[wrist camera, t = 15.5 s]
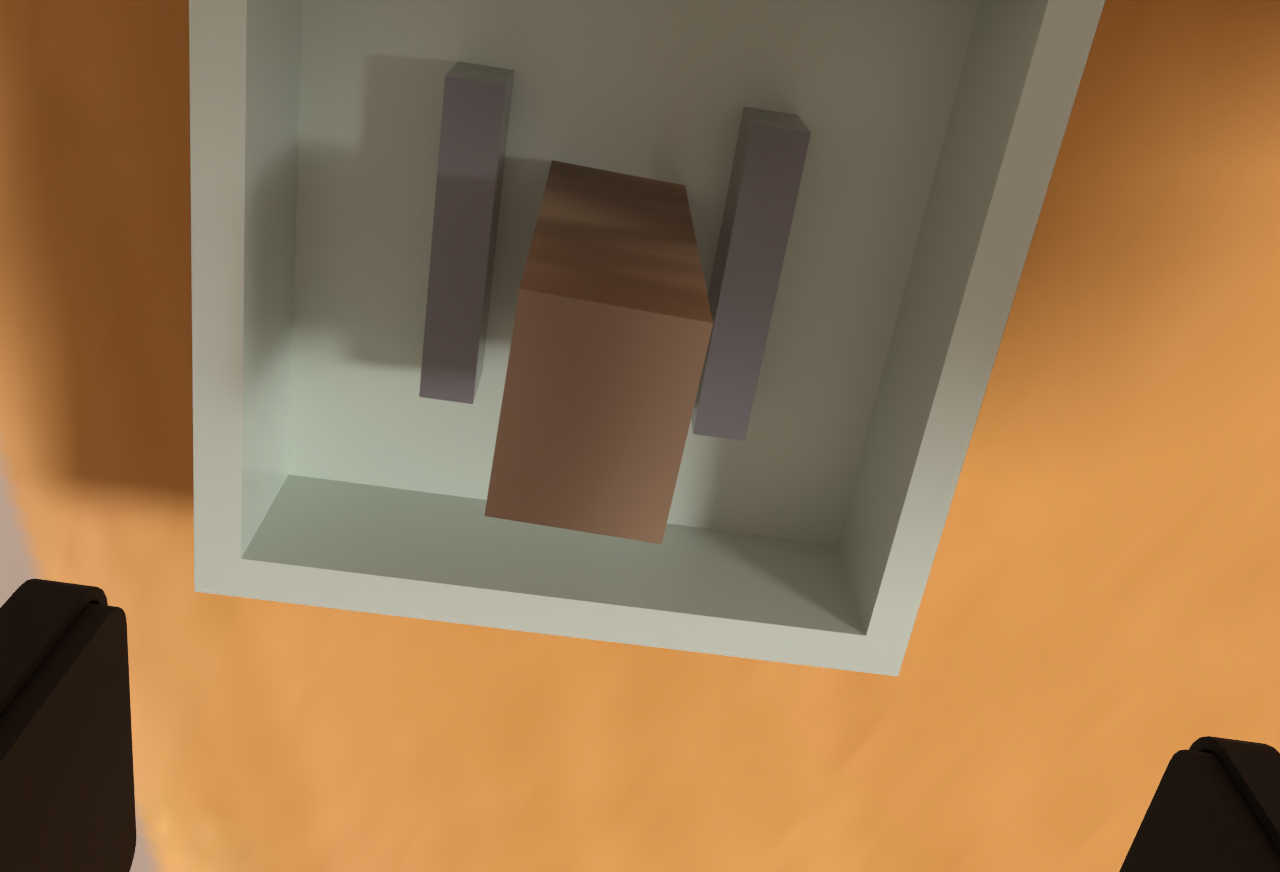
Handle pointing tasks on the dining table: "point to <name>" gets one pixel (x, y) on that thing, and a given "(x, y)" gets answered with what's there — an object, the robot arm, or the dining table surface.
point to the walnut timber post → (602, 358)
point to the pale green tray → (493, 269)
